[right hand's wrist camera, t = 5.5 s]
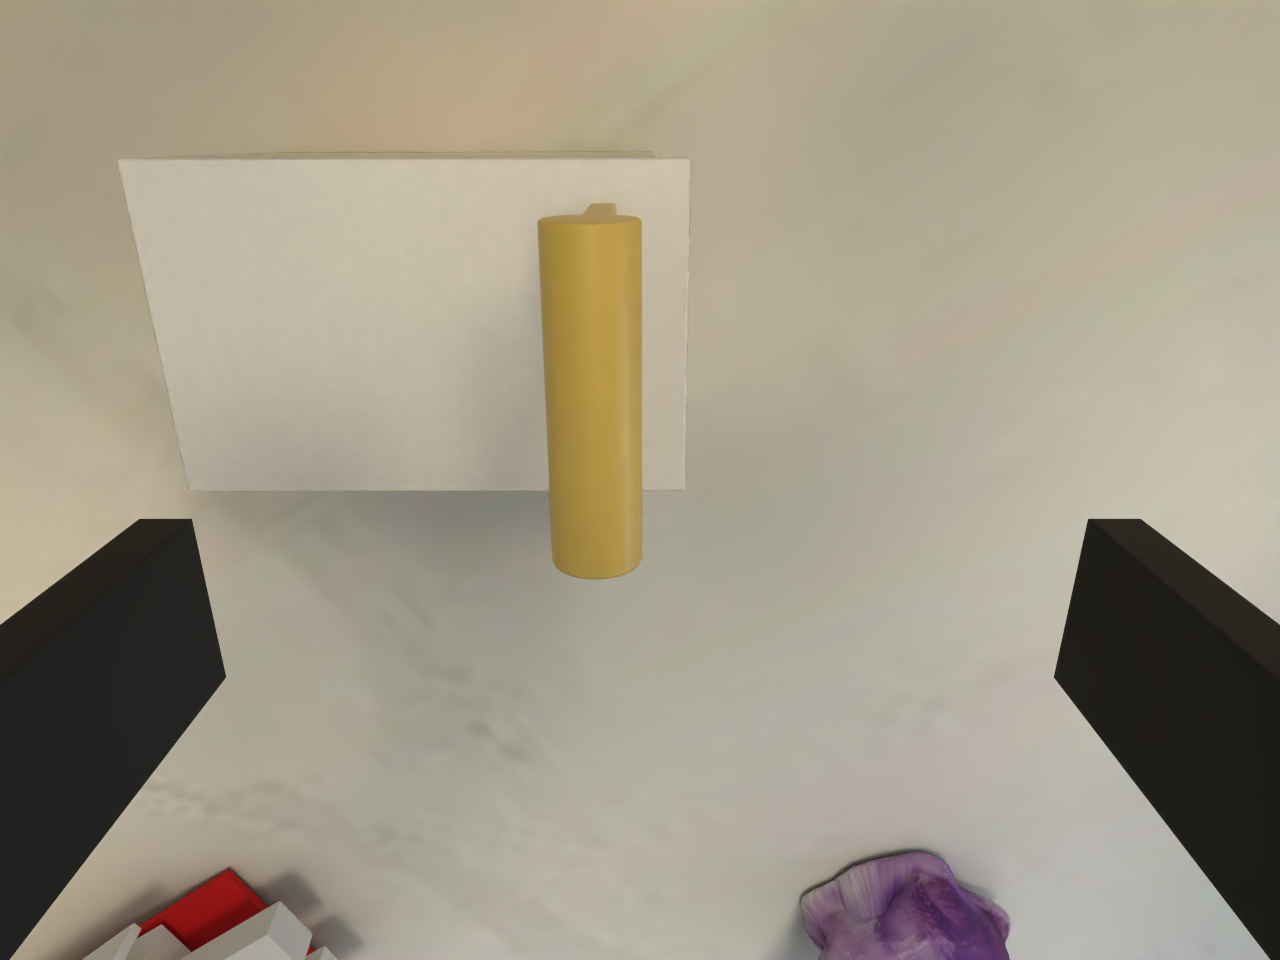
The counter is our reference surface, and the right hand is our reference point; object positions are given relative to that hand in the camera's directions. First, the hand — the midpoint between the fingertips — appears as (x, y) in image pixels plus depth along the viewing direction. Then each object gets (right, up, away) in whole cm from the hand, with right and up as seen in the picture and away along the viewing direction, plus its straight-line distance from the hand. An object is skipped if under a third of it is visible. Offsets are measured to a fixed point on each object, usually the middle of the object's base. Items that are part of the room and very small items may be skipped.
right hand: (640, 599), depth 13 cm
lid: (-6, +6, +12) cm, 15 cm away
